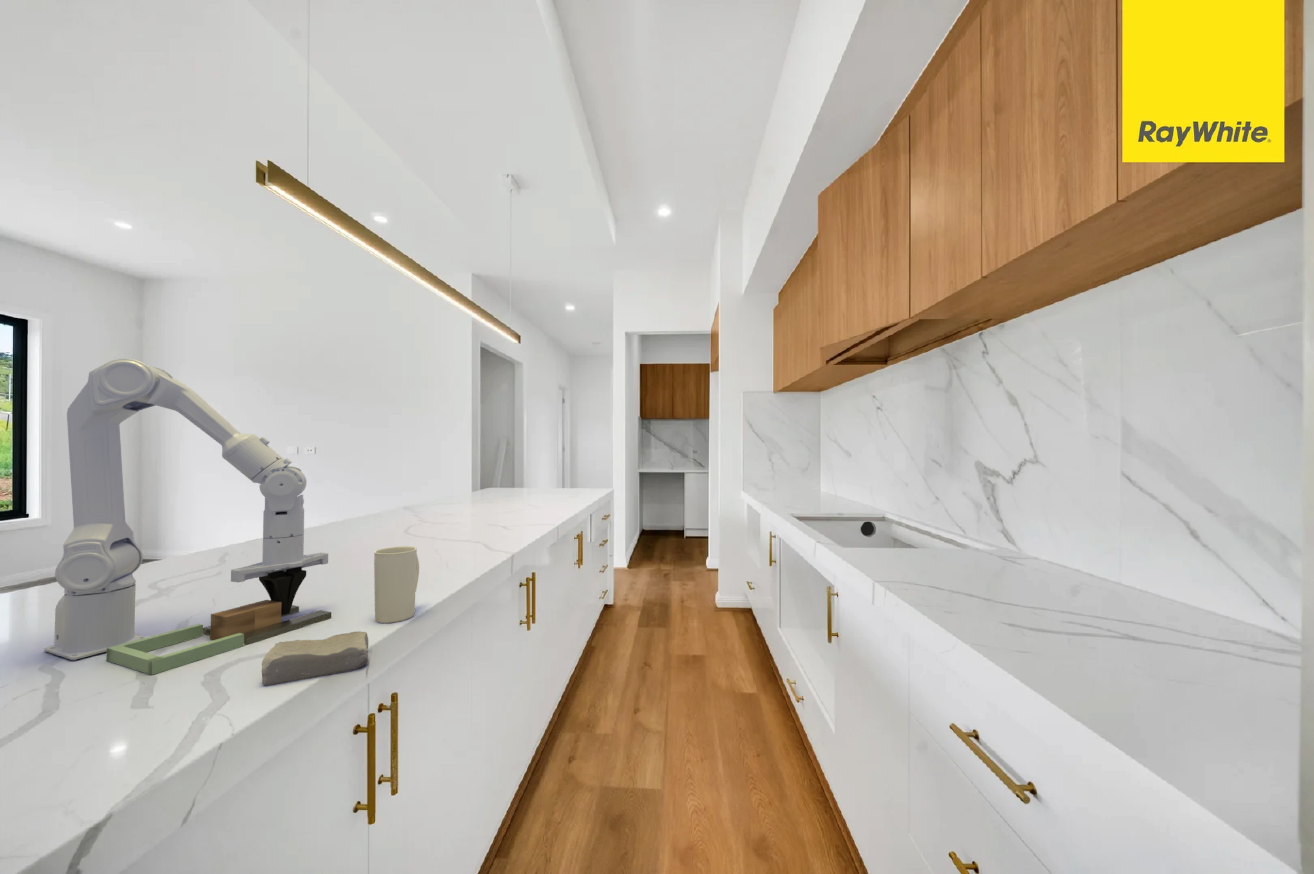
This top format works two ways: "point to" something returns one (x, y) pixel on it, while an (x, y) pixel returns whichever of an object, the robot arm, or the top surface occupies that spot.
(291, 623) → the slot rails
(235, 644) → the tray
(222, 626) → the walnut chip front
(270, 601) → the block
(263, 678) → the stone block
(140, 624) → the top surface
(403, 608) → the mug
